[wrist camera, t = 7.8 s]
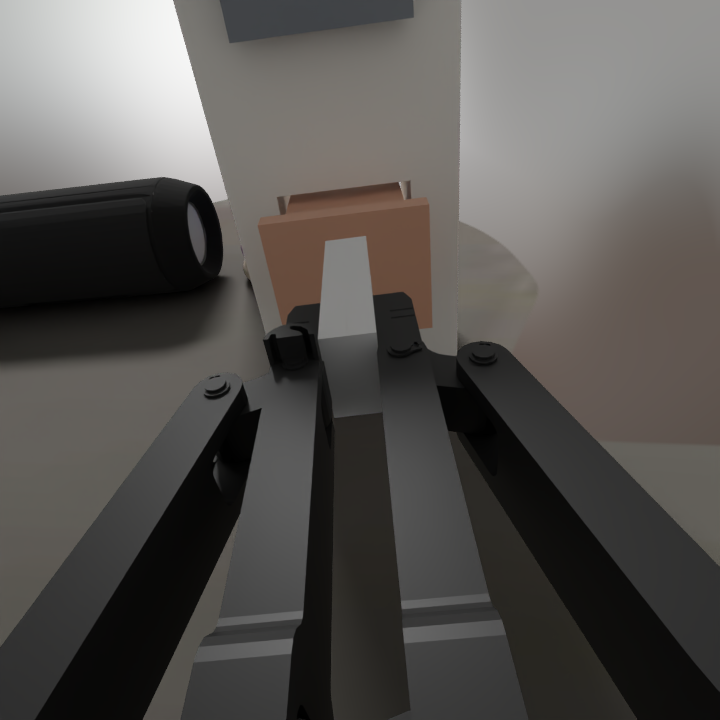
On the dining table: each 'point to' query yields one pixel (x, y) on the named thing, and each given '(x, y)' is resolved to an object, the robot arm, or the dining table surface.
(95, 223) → the portable speaker
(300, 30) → the upper button
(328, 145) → the button panel
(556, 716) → the dining table surface
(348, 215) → the lower button
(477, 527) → the dining table surface
